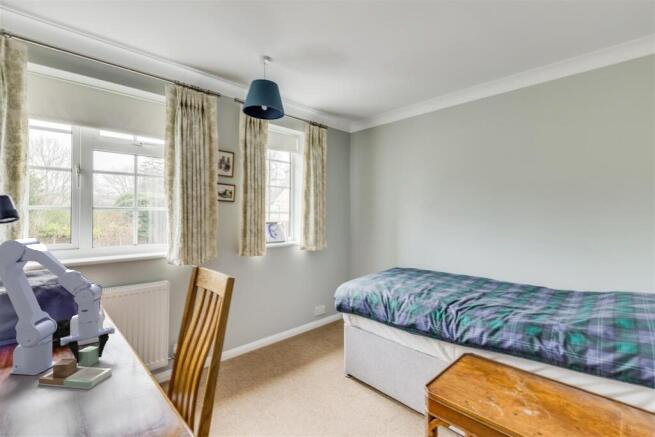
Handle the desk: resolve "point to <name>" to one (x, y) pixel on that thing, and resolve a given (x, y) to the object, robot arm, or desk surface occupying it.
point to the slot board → (78, 378)
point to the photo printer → (75, 329)
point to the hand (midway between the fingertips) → (88, 359)
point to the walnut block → (65, 368)
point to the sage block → (88, 356)
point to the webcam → (61, 332)
